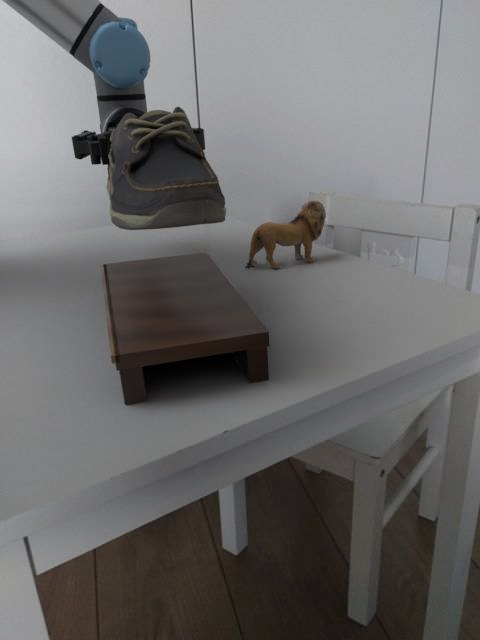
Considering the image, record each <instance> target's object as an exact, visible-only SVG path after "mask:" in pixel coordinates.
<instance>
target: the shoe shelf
mask: <svg viewBox="0 0 480 640" xmlns="http://www.w3.org/2000/svg"><path fill="white" fill-rule="evenodd" d="M100 272H101V281H102V290H103V299H104V300H103V301H104V309H105V318H106V327H107V336H108V344H109V345H108V346H109V353H110V360H111V361H110V362H111V364H112V365H115V369H116V371H118V373H119V378H120V379H119V380H120V384H121V390H122V396H123V402H124V403H123V404H124V405H131V404H136V403H143V402H147V401H148V398H147V397H148V396H147V390H146V383H145V375H144V369H143V367H149V366H154V365H161V364H168V363H173V362H179V361H180V362H181V361H185V360H191V359H199V358H206V357H212V356H217V355H223V354H224V355H225V354H229V353H231V355H232V356H233V358H234V360H235V361H236V363H237V364H238V366H239V368H240V370H241V371H242V374H243V375H244V377H245V379H246V380H247V382H248V383H249V384H253V383H258V382H265V381H269V380H270V367H269V365H270V364H269V347H270V345H271V344H270V343H271V341H270V340H271V339H270V331H269V330H268V328H267V327H266V326H265V324H264V323H263V322H262V321H261V319H260V318H259V316H258V315H257V314H256V313H255V312H254V311H253V309H252V308H251V307H250V305H249V304H248V303H247V301H246V300H245V299H244V297H243V296H242V295H241V294H240V292H239V291H238V290H237V289H236V288H235V286H234V285H233V284H232V282H231V281H230V280H229V279H228V277H227V276H226V275H225V273H224V272H223V271H222V269H221V268H220V267H219V266H218V265H217V263H216V262H215V260H213V258H212V257H211V256H210V255H209V253H208V252H207V251H205V252H196V253H188V254H179V255H171V256H162V257H153V258H144V259H136V260H127V261H119V262H118V261H117V262H111V263H110V262H109V263H101V264H100Z"/></svg>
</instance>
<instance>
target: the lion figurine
mask: <svg viewBox="0 0 480 640" xmlns="http://www.w3.org/2000/svg"><path fill="white" fill-rule="evenodd" d="M326 218H327V212H326V209H325V206H324V204H323V203H322V202H321V201H318V200H308V201H307V202H304V204H302V205H301V210H300V211H299V212H298V213H297V214H296V216H295V217H294V218H293V219H291V220H290V221H289V222H281V223H280V222H272V221H271V222H269V221H268V222H264V223H261V224H260V225H259V226H258V227H256V228H255V230H254V232H253V234H252V236H251V239H250V246H249V254H248V261H247V263H246V265H245V267H244V269H250V268H251V267H256V266H258V261H256V260H254V259H255V257H256V255H257V254H258V253H259V252H260V251H262V249H264V250H265V260H266V262H267V263H268V264H269V266H270V268H272V269H280V268H281V265H280V264H279V263H277V262H275V260H274V258H273V257H274V253H275V251H276V247H277V245H278V246H281V247H294V258H295V259H296V260H303V259H304V260H305V261H306V263H311V264H312V263H314V262H315V259H314V258H313V257H311V255H312V249H313V242H315V241H317V240H318V239H319V238H320V237H321V236H322V233H323V229H324V226H325V224H326V223H325V222H326ZM302 246H303V248H304V255H303V254H302Z"/></svg>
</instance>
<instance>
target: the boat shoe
mask: <svg viewBox="0 0 480 640" xmlns="http://www.w3.org/2000/svg"><path fill="white" fill-rule="evenodd" d="M192 128H193V127H192V125H191V123H190V120H189V118H188V115H187V113H186V112H185V110H184V109H183V108H182V107H180V106H175V108H174V109H173V111H172V112H171V111H169V110H168V111H167V110H164V109H153V110H149V111H147V113H145V114H144V115H142V116H141V117H140V118H138V117H137V116H136V115H134V114H132V113H127V114H125V115H124V117H123V118H122V119H121V121H120V123H119V124H118V126H117V128H116V129H114V130H113V132H112V134H111V136H110V141H111V148H110V153H109V161H110V164H108V165H107V180H106V181H107V183H106V191H107V194H108V197H109V201H110V202H109V215H110V221H111V222H112V224H113V225H114V226H115V227H117V228H118V229H121V230H127V231H141V230H161V229H162V230H163V229H172V228H173V229H174V228H182V227H192V226H201V225H212V224H219V223H223V222H225V221H226V216H227V208H226V198H225V194H223V192H222V188H221V185H220V181H219V178H218V176H217V174H216V173H215V171H214V170H213V168H212V166H211V164H210V163H209V162H208V160H207V158H206V155H205V154H206V153H205V150H203V149H202V148H201V147H200V145H199V143H198V141H197V139H196V137H195V135H194V133H193V130H192Z"/></svg>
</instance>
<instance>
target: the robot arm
mask: <svg viewBox="0 0 480 640" xmlns="http://www.w3.org/2000/svg"><path fill="white" fill-rule="evenodd" d="M1 1H2V2H3V3H5V4H6V5H7V6H9V7H10V8H11V9H12V10H13V11H15V12H16V13H18V15H20V16H21V17H23V18H24V19H25V20H27V21H28V22H29V23H30V24H31V25H33V27H35V28H36V29H38V30H39V31H40V32H42V33H43V34H44V35H45V36H47V37H48V38H49V39H50V40H52V41H53V42H55V44H57V45H58V46H59V47H61V48H62V49H63V50H65V51H66V52H67V53H68V54H69V55H71V56H72V57H73V58H74V59H75V60H77V61H78V62H79V63H80V64H82V65H83V66H84V67H85V68H87V69H88V70H89V71H90V72H92V75H93V80H94V85H95V92H96V102H97V108H98V117H99V129H100V133H98V134H97V132H96V131H89V130H88V129H87V130H85V129H84V130H83V131H81V132H80V133H79V134H75V135H73V136H71V142H72V143H71V144H72V148H73V154H74V158H75V159H76V160H83V159H86V158H88V157H89V156H90V162H91V165H96V166H97V165H101V164H102V165H103V166H106V165H107V166H108V164H110V161H109V153H110V148H111V141H110V136H111V134H112V132H113V130H114V129H116V128H117V126H118V124H119V123H120V121H121V119H122V118H123V117H124V115H125V114H127V113H132V114H134V115H136V116H137V117H138V118H140V117H141V116H142V115H144V114H145V113H147V112H148V103H147V96H146V95H147V94H146V90H145V79H146V77H147V76H148V73H149V69H150V67H151V50H150V47H149V44H148V41H147V40H146V38H145V36H144V34H142V33H141V31H140V30H139V29H138V24H137V22H136V21H135V20H134V19H132V18H128V17H121V16H120V17H119V16H118V15H116V14H115V13H114V12H113V11H111V9H109V8H108V7H106V6H105V5H104V4H103V3H102V2H101V0H1ZM192 130H193V133H194V135H195V137H196V139H197V141H198V143H199V145H200V147H201V148H202V149H203V151H205V150H206V139H205V129H204V128H201V127H192Z"/></svg>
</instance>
